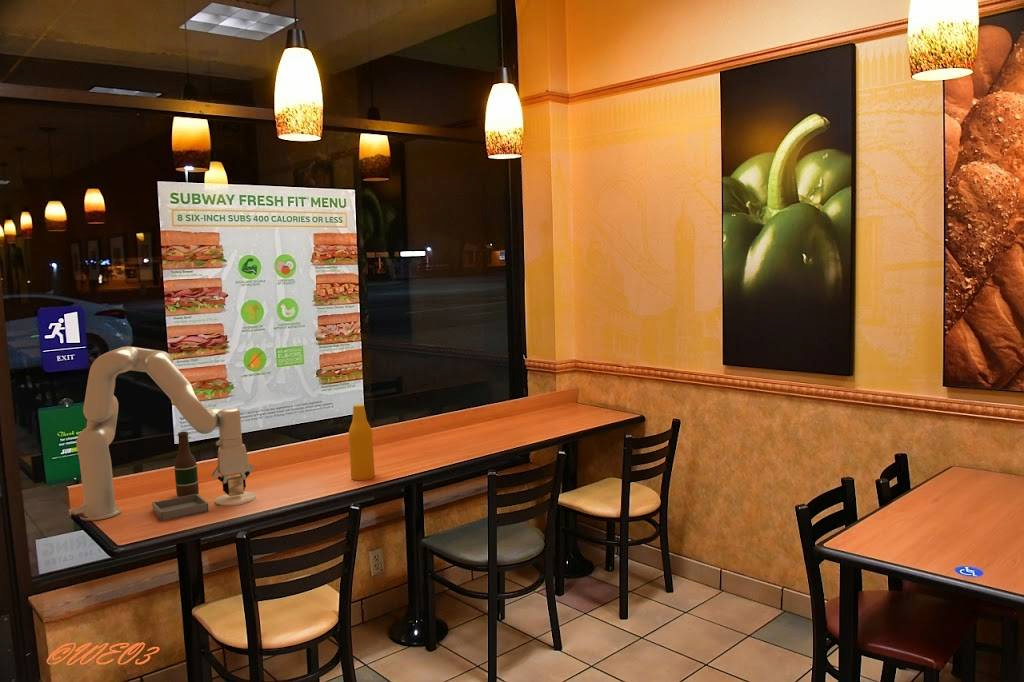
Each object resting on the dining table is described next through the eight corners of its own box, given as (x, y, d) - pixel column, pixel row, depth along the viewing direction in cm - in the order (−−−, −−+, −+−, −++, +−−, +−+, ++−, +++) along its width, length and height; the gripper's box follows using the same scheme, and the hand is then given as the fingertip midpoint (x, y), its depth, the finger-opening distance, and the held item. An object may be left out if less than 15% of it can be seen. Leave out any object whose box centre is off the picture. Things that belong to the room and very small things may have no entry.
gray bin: (161, 521, 260) (161, 512, 260) (152, 510, 272) (151, 502, 272) (208, 511, 269) (207, 503, 268) (197, 501, 281) (197, 493, 281)
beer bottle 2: (369, 481, 300) (365, 407, 297) (347, 480, 301) (342, 407, 299) (378, 474, 309) (374, 403, 306) (356, 474, 310) (352, 403, 308)
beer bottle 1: (175, 498, 286) (170, 435, 284) (178, 493, 293) (173, 431, 291) (197, 496, 288) (192, 433, 286) (200, 490, 296) (195, 429, 293)
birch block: (229, 496, 278) (228, 480, 277) (226, 493, 282) (224, 477, 281) (243, 493, 281) (242, 477, 280) (239, 490, 285) (238, 475, 284)
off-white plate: (221, 508, 272) (220, 505, 272) (210, 499, 283) (210, 496, 283) (260, 500, 280) (260, 497, 280) (249, 491, 291) (249, 489, 291)
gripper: (209, 448, 271) (213, 498, 273) (257, 440, 281) (261, 489, 283) (204, 444, 278) (207, 494, 279) (251, 437, 287) (255, 484, 289)
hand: (234, 491), depth 281 cm, fingers closed on birch block, 5 cm apart
